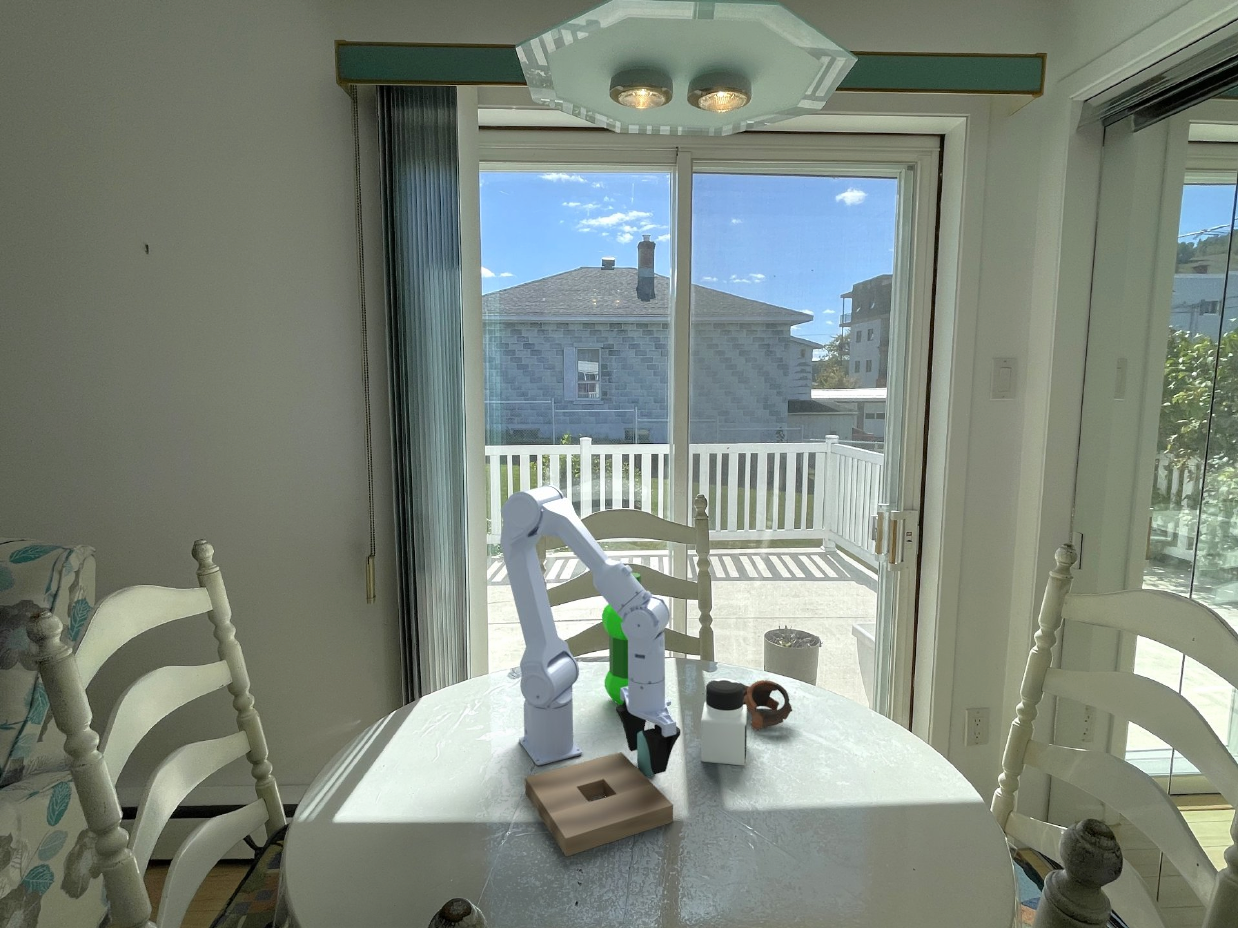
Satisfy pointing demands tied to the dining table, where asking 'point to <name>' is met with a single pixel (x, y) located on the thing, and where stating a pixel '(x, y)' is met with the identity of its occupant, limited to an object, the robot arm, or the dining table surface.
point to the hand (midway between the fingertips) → (647, 759)
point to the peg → (643, 756)
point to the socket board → (597, 802)
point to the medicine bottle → (724, 723)
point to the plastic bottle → (616, 652)
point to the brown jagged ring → (765, 703)
